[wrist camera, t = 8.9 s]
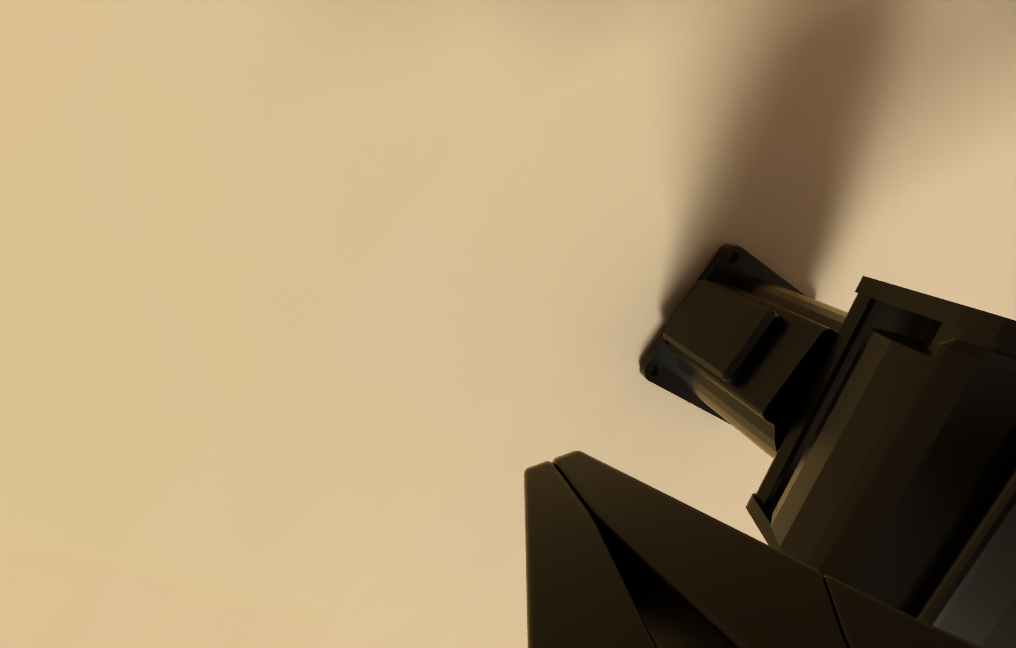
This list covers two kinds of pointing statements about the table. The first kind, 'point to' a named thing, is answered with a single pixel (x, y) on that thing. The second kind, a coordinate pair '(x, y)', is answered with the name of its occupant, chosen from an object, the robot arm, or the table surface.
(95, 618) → the table surface
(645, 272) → the table surface
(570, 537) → the robot arm
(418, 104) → the table surface
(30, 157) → the table surface
